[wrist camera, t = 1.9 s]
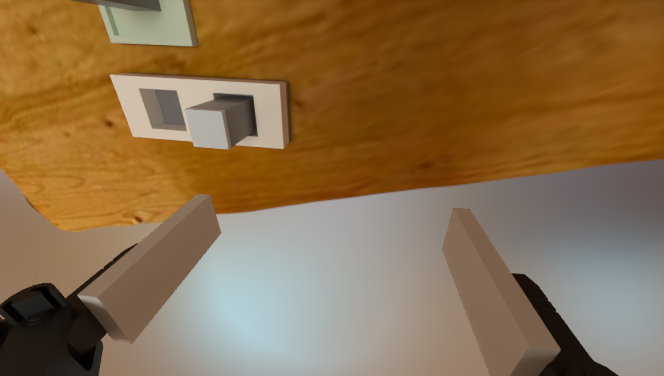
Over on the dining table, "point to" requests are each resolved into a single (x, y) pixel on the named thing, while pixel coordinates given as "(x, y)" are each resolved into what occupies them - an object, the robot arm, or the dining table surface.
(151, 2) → the plug
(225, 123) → the grey square peg
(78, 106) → the dining table surface
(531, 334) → the robot arm
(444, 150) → the dining table surface
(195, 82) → the strip
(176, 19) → the tray
